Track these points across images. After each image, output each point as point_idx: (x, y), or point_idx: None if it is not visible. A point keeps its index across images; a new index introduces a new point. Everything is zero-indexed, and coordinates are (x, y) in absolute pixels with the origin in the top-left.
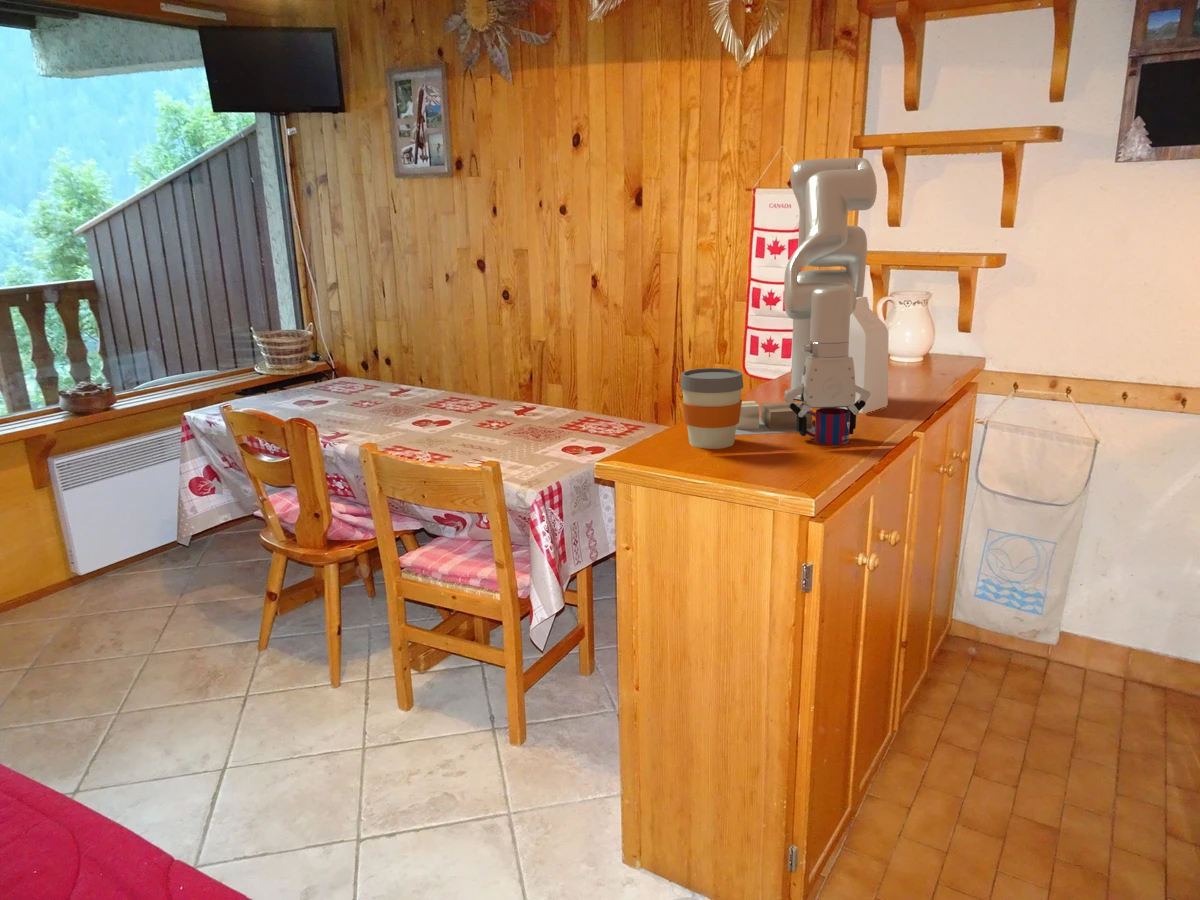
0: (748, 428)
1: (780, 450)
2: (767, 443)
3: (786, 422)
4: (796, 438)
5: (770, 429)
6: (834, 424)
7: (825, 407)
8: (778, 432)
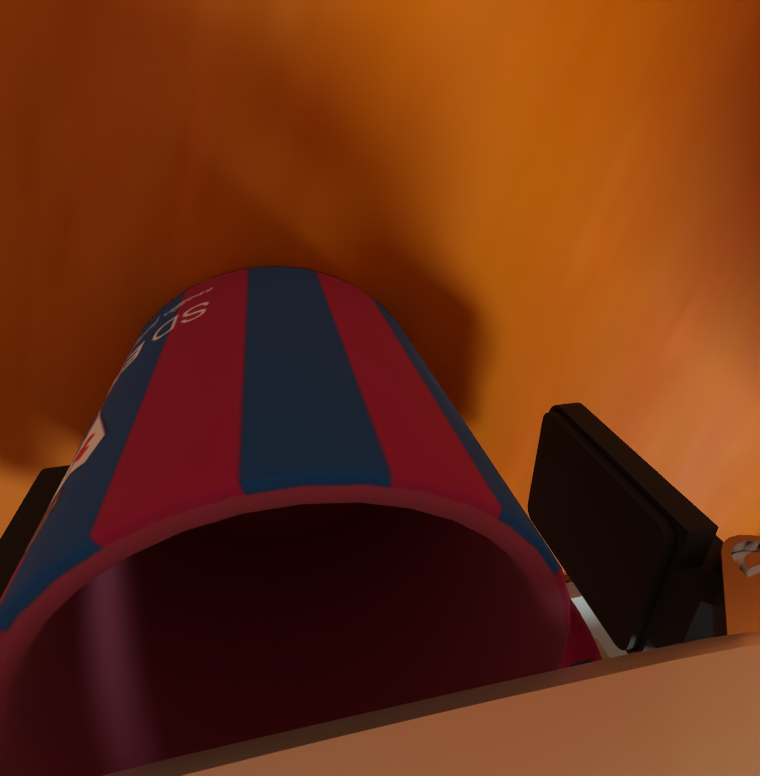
0: None
1: (748, 234)
2: (718, 426)
3: None
4: None
5: (598, 643)
6: (329, 372)
7: (545, 681)
8: (576, 604)
